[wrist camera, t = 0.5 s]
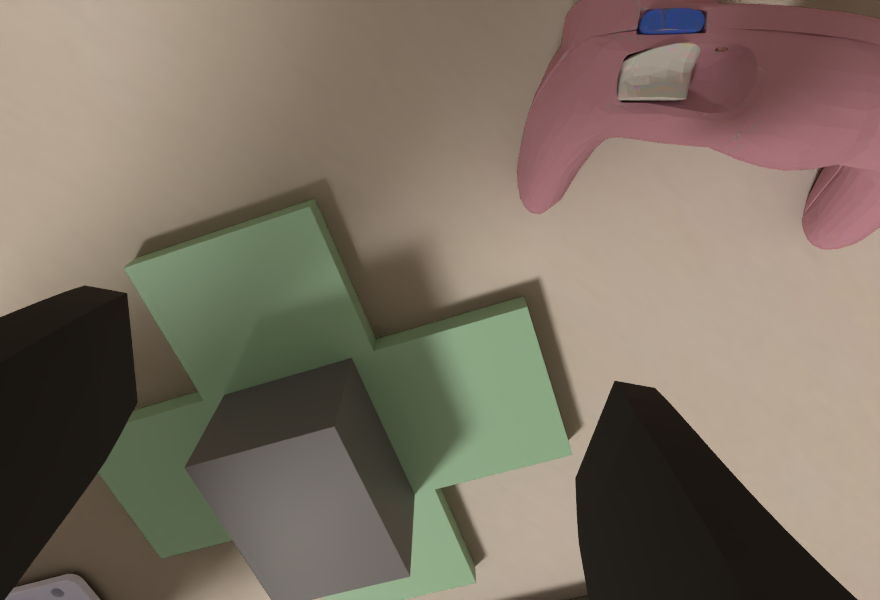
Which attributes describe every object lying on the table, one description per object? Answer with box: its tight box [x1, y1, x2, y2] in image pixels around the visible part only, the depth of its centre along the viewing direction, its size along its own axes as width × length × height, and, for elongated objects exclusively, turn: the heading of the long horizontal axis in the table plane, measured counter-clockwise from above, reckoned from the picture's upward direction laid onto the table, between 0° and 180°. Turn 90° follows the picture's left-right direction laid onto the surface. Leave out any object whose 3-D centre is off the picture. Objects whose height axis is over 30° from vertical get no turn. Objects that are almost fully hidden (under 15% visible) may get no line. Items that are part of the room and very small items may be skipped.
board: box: [98, 199, 572, 600], centre depth 20 cm, size 16×16×4 cm
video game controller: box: [517, 0, 880, 249], centre depth 15 cm, size 10×5×7 cm, turn 83°
